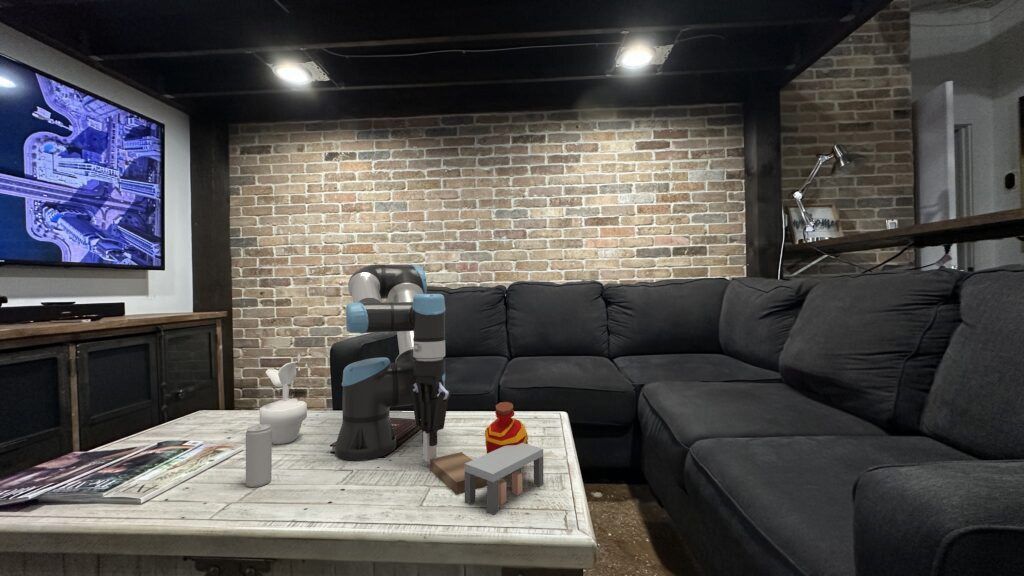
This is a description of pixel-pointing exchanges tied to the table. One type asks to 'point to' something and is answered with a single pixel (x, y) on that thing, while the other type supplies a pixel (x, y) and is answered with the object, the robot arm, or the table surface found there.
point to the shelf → (502, 472)
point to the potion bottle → (504, 429)
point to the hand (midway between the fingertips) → (429, 458)
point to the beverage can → (258, 455)
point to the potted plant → (284, 406)
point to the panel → (453, 471)
